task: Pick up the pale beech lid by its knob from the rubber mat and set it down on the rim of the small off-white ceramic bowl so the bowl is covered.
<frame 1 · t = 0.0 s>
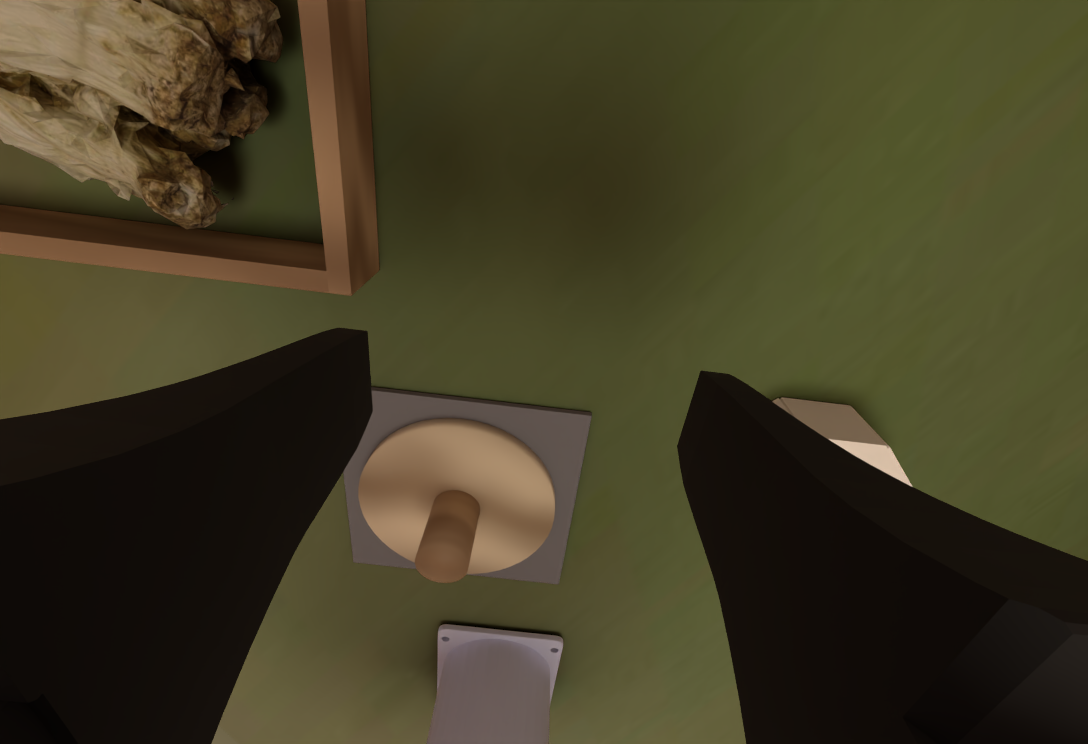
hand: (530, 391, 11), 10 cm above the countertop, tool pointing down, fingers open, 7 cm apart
lid: (459, 496, 25), resting on mat
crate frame: (88, 23, 16), on the countertop
bowl: (784, 468, 24), on the countertop
dried leaf bundle: (99, 21, 17), on the countertop
mat: (460, 493, 26), on the countertop
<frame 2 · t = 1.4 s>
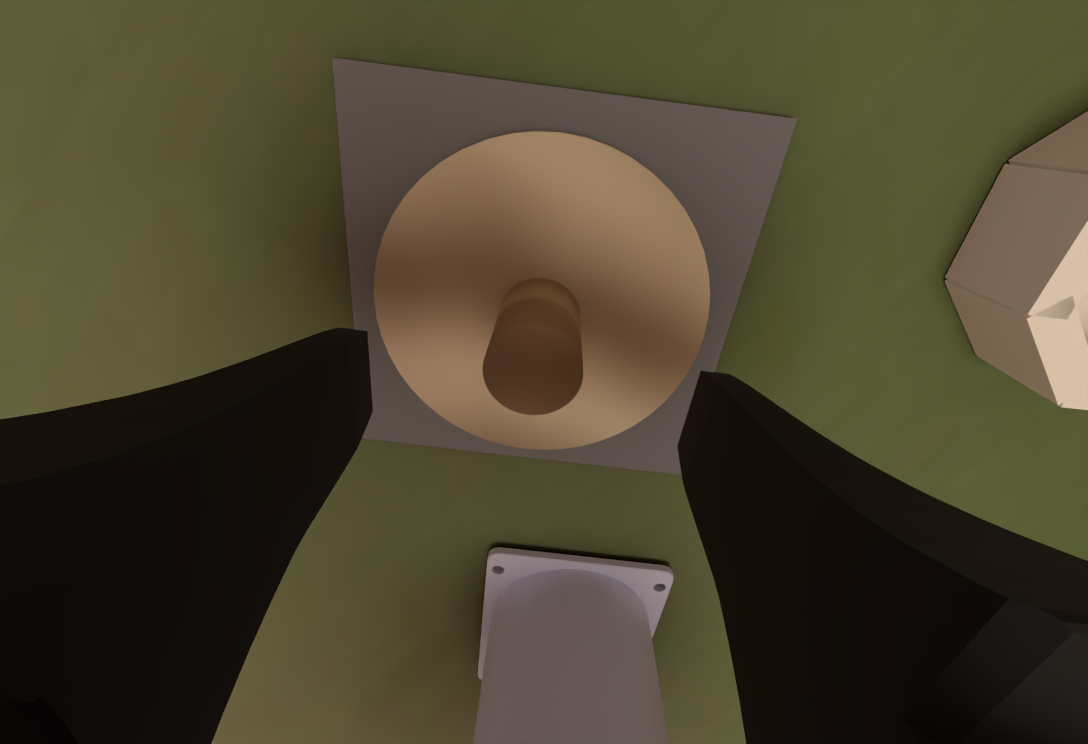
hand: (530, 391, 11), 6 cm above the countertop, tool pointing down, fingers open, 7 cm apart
lid: (541, 307, 15), resting on mat
mat: (541, 304, 16), on the countertop
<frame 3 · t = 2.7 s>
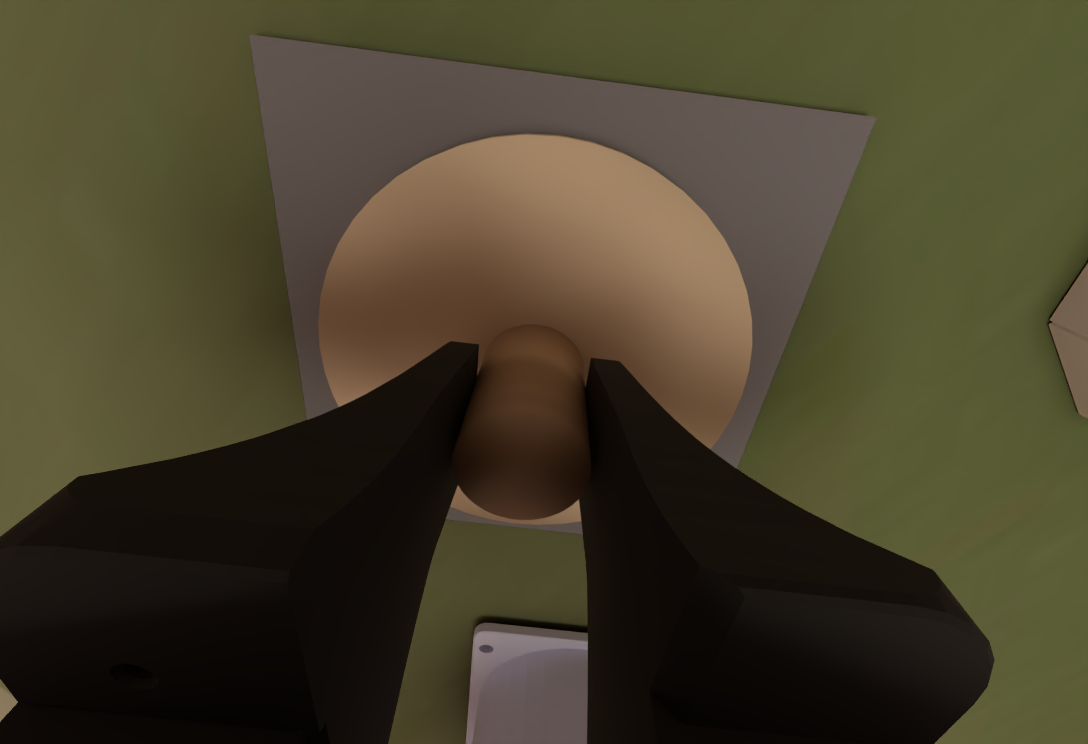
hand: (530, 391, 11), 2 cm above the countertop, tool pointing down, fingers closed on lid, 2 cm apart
lid: (534, 355, 12), resting on mat, touching gripper
mat: (535, 350, 12), on the countertop
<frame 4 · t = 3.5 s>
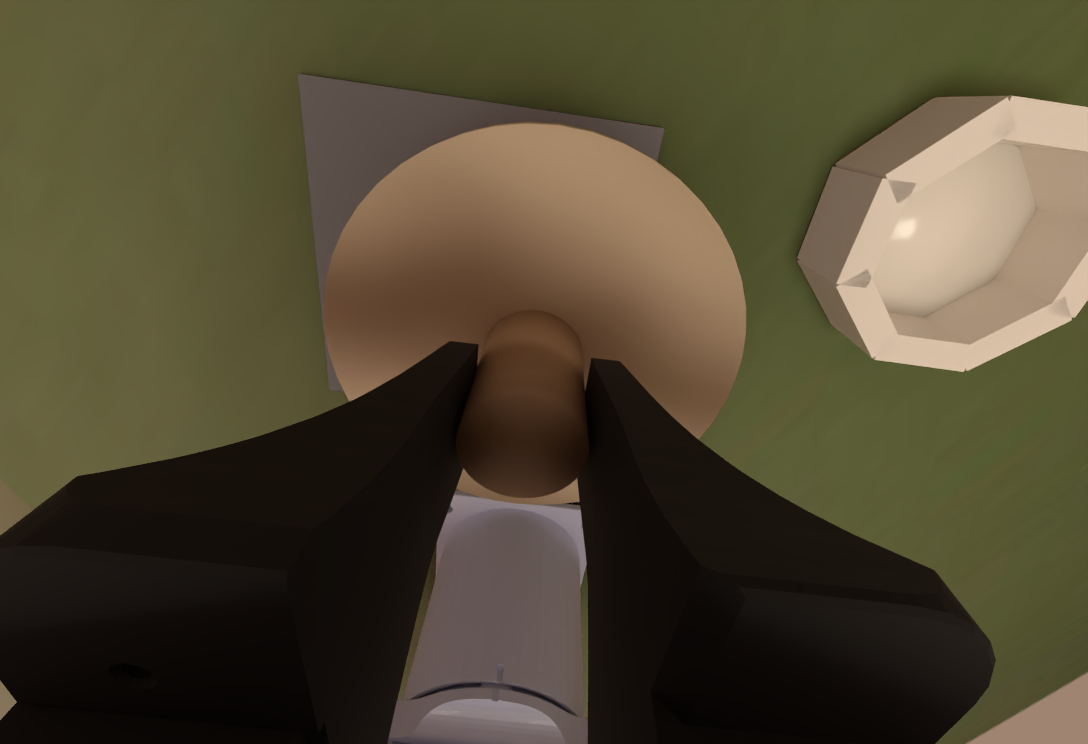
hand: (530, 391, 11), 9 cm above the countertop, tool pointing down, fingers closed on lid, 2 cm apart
lid: (534, 340, 12), point 7 cm above the countertop, touching gripper
bowl: (921, 229, 18), on the countertop
mat: (473, 275, 19), on the countertop
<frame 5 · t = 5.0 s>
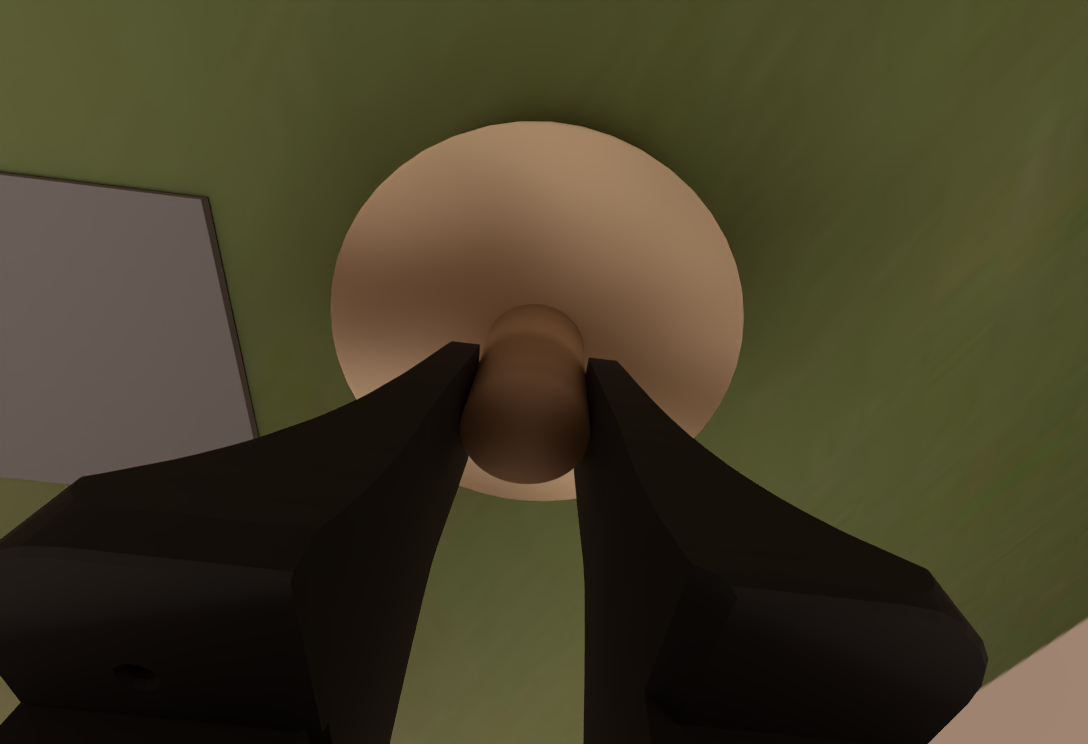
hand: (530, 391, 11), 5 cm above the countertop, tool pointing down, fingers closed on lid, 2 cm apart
lid: (536, 336, 13), point 3 cm above the countertop, touching bowl, gripper
mat: (72, 355, 17), on the countertop
when the fingers open (5 cm above the countertop, at t = 5.1 s): lid stays where it is, resting on bowl.
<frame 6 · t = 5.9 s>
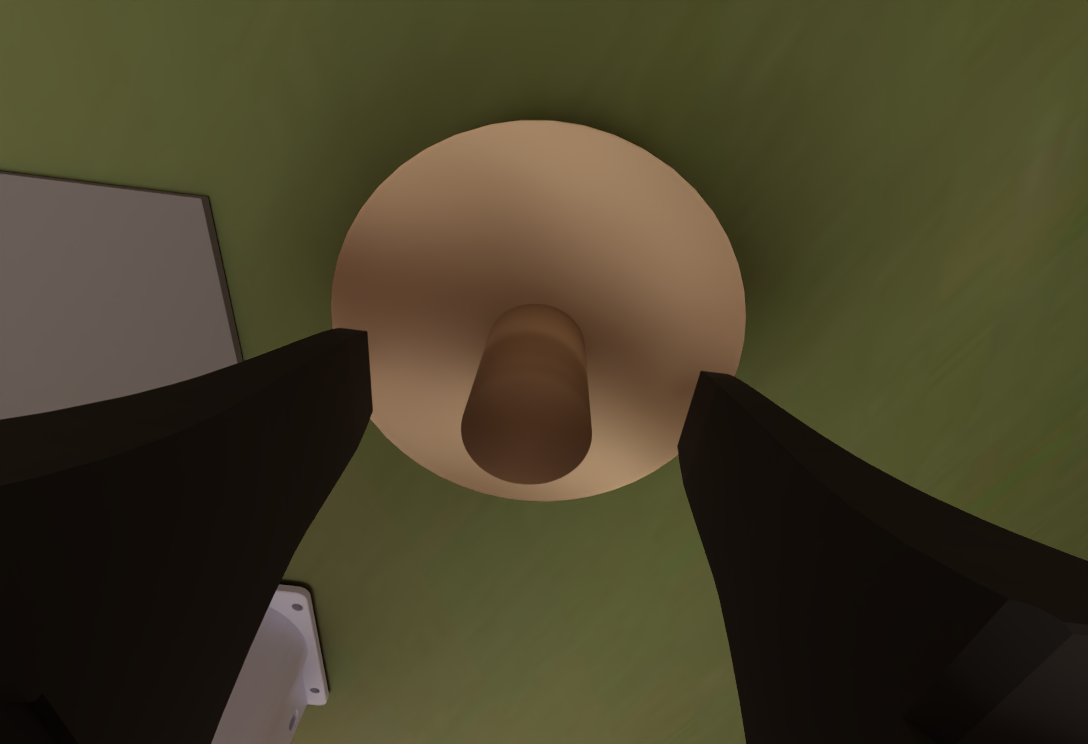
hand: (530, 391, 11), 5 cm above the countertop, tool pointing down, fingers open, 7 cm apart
lid: (537, 335, 13), point 3 cm above the countertop, touching bowl
mat: (72, 354, 17), on the countertop
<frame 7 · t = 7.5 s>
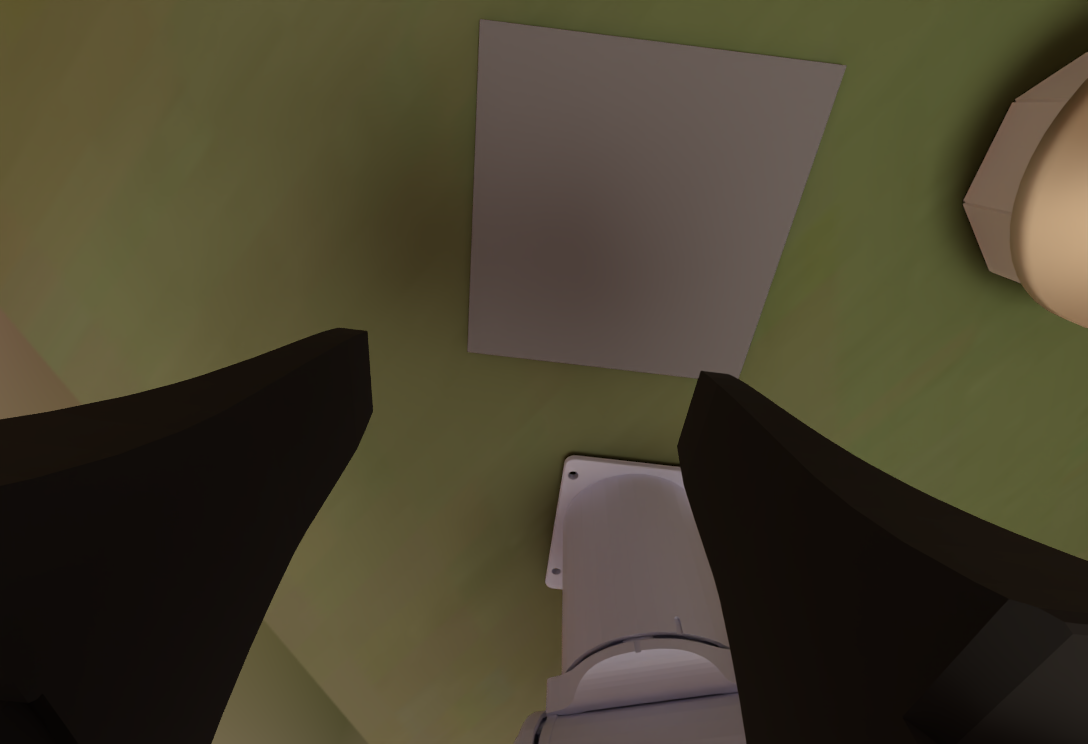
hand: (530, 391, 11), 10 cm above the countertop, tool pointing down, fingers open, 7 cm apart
mat: (628, 228, 19), on the countertop
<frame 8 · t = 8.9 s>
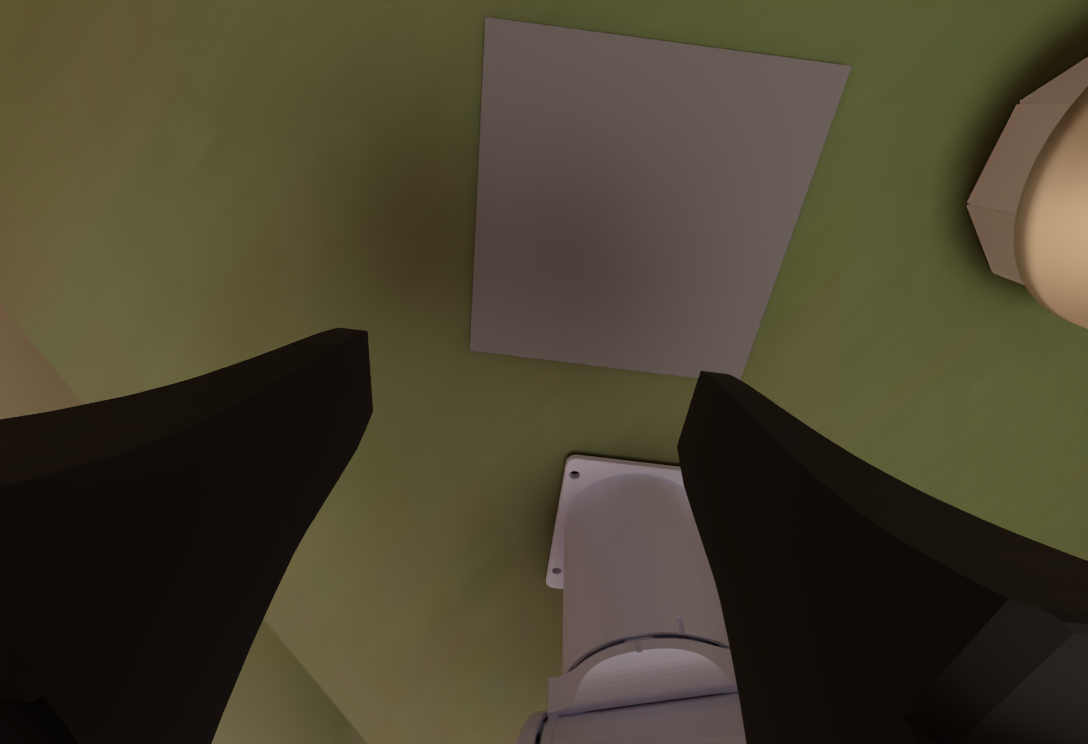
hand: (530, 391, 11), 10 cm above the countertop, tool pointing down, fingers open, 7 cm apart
mat: (631, 227, 19), on the countertop
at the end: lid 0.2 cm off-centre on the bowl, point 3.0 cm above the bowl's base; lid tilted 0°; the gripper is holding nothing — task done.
